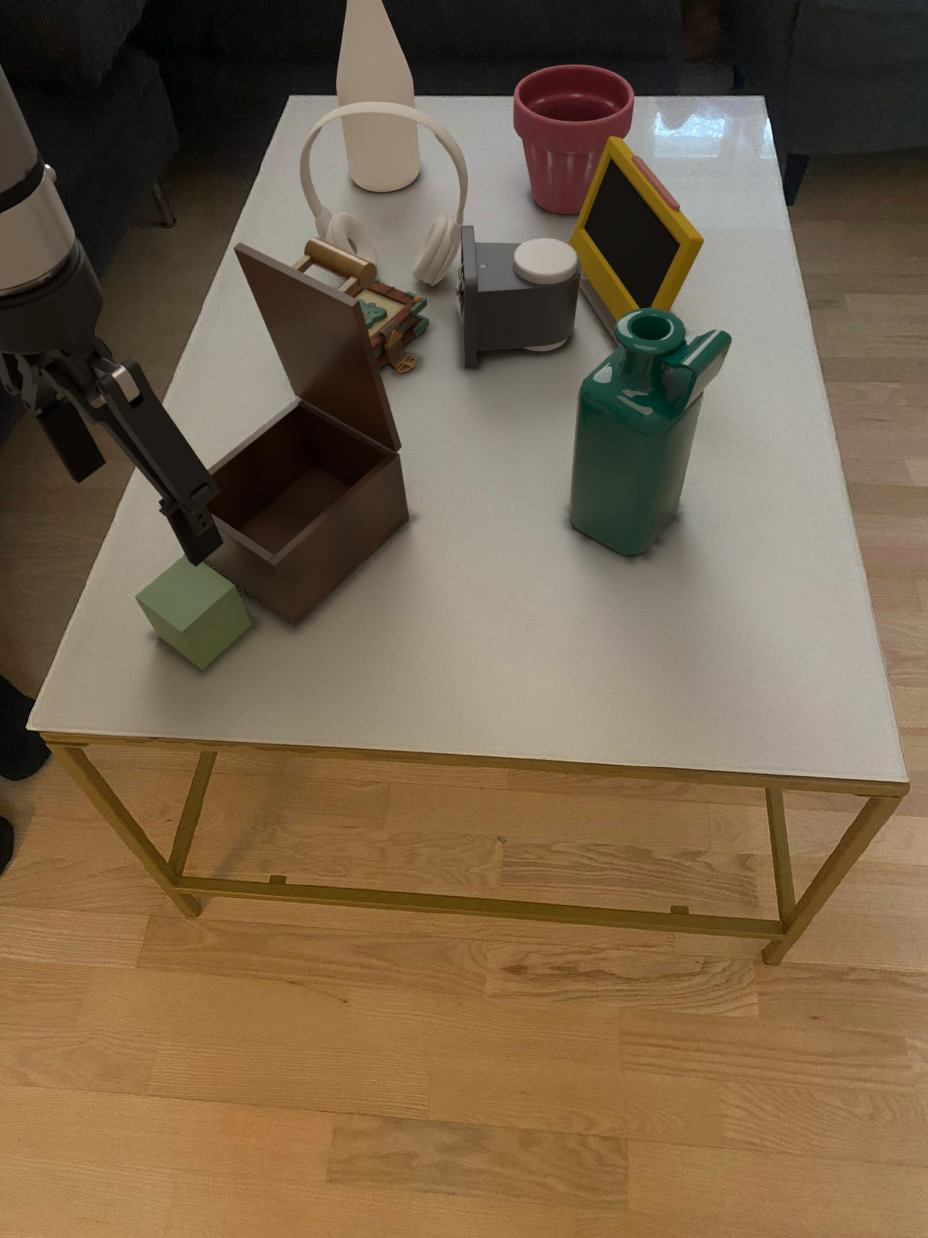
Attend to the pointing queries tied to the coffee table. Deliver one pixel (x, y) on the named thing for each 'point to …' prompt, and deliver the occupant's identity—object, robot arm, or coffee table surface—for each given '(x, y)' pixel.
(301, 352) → the bin lid
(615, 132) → the flower pot
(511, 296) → the light fixture
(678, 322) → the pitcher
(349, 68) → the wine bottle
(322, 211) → the headphones
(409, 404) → the coffee table surface
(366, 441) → the bin
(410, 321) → the decorative book
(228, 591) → the block
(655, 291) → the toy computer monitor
